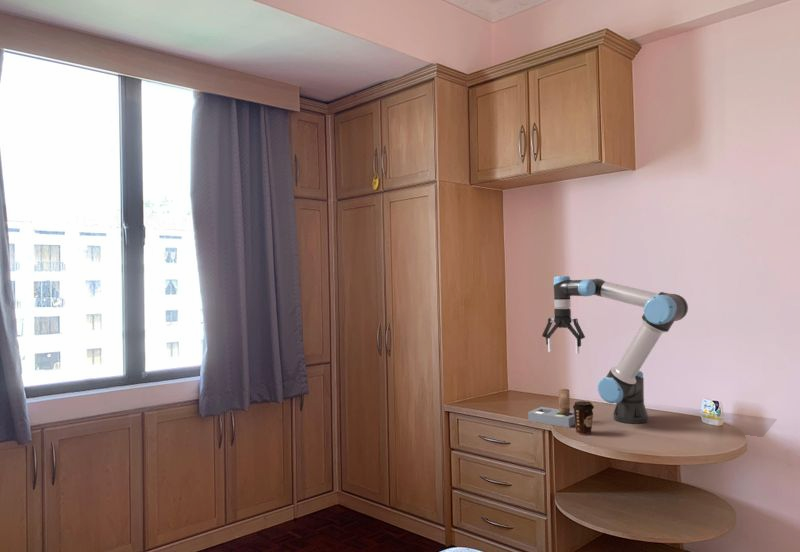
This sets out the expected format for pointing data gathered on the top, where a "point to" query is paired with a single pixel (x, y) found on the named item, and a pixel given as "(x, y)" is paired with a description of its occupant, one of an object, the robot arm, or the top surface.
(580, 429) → the coffee cup
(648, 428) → the top surface
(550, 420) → the socket block
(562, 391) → the walnut plug
